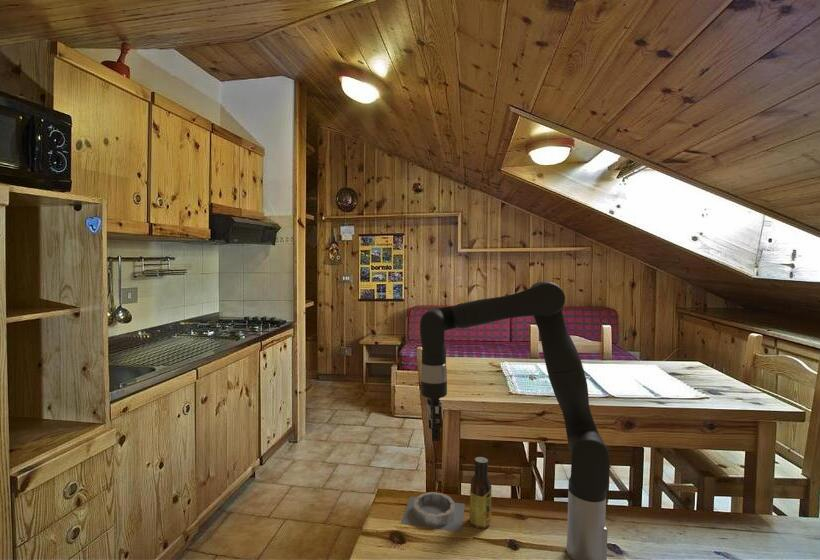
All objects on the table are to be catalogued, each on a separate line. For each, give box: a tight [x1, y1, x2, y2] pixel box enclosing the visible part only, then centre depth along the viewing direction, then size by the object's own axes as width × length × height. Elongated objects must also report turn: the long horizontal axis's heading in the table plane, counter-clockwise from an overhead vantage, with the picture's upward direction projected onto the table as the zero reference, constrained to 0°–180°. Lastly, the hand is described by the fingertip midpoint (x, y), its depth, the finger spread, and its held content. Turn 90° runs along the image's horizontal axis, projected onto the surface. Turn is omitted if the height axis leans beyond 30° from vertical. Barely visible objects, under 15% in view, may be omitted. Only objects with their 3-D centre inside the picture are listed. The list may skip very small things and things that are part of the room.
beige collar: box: [413, 491, 456, 527], centre depth 120 cm, size 12×12×3 cm
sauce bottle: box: [469, 456, 492, 530], centre depth 116 cm, size 7×6×20 cm
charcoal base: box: [400, 496, 466, 534], centre depth 120 cm, size 18×14×1 cm
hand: (434, 434), depth 113 cm, fingers open, 8 cm apart
